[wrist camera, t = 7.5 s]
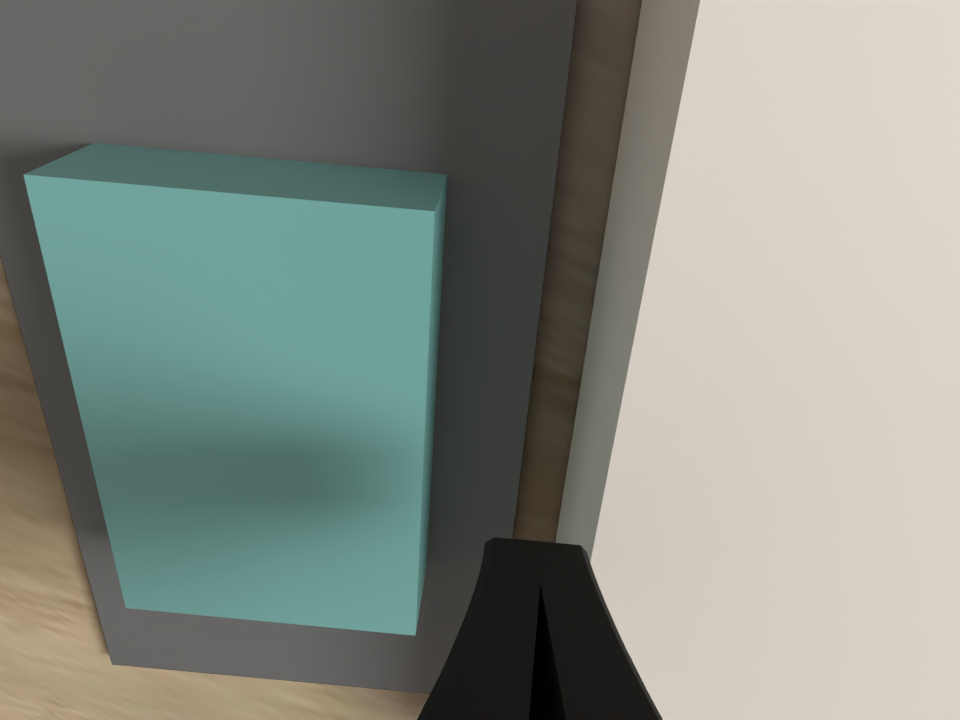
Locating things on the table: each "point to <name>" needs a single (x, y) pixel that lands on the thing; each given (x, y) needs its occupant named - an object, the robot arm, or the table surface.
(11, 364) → the table surface
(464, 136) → the mat
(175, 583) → the teal rectangular block
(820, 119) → the cream flat slab
